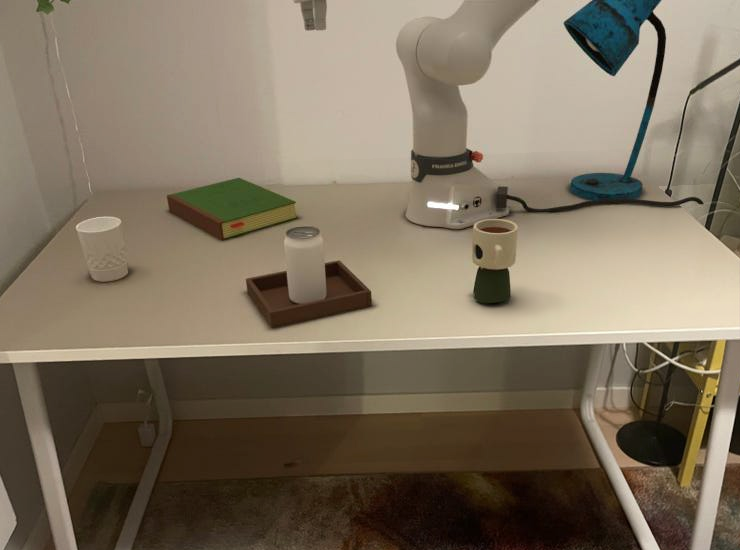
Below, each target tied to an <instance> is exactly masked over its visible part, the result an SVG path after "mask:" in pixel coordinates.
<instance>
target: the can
mask: <svg viewBox="0 0 740 550" xmlns="http://www.w3.org/2000/svg"><path fill="white" fill-rule="evenodd" d="M283 247H284V248H283V249H284V258H285V259H284V260H285V268H286V269H285V271H287V280H288V290H289V298H290V300H291V301H292V302H294V303H296V304H304V303H308V302H313V301H318V300H322V299H325V297H326V276H325V263H326V262H325V261H326V260H325V250H324V249H325V248H324V239H323V236H322V235H321V229H319V228H318V227H316V226H313V225H299V226H294V227H291V228H289V229H287V230H286V231H285V238H284V242H283Z"/></svg>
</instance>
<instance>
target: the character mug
mask: <svg viewBox="0 0 740 550" xmlns="http://www.w3.org/2000/svg"><path fill="white" fill-rule="evenodd" d="M472 231H473V232H472V247H471V248H472V249H471V252H472V254H471V257H472V258H471V259H472V263H473V264H474V265H475V266H477V267H478V268H477V269H476V275H475V279H474V285H473V290H472V295H473V299H474V300H476V301H478V302H480V303H483V304H495V303H501V302H505V301H508V300H510V299H511V297H512V296H511V295H512V291H511V277H510V270H509V268H511V267H512V266H514V265H515V264H516V258H517V245H518V231H519V226H518V224H517V223H515V222H514V221H511V220H508V219H503V218H496V219H486V220H482V221H478V222H477V223H475V224H474V225H473V230H472Z"/></svg>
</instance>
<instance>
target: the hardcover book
mask: <svg viewBox="0 0 740 550" xmlns="http://www.w3.org/2000/svg"><path fill="white" fill-rule="evenodd" d="M166 200H167V205H168V211H169V212H170V213H171V214H174V216H177V217H179V218H180V219H182V220H184V221H186V222H188V223H190V224H191V225H193V226H195V227H197V228H198V229H200V230H202V231H204V232H205V233H207V234H209V235H211V236H213V237H214V238H217V240H220V241H226V240H228V239H232V238H236V237H238V236H241V235H246V234H249V233H253V232H256V231H260V230H263V229H266V228H269V227H273V226H276V225H280V224H283V223H286V222H290V221H293V220H296V219H297V220H298V217H297V216H296V203H297V201H296V200H292V199H290V198H288V197H286V196H284V195H280V194H279V193H277V192H274V191H271V190H269V189H267V188H265V187H262V186H260V185H258V184H255V183H253V182H251V181H249V180H246V179H244V178H241V177H235V178H232V179H227V180H224V181H219V182H215V183H211V184H208V185H204V186H203V185H202V186H199V187H195V188H191V189H187V190H183V191H178V192H174V193H171V194H167V195H166Z"/></svg>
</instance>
